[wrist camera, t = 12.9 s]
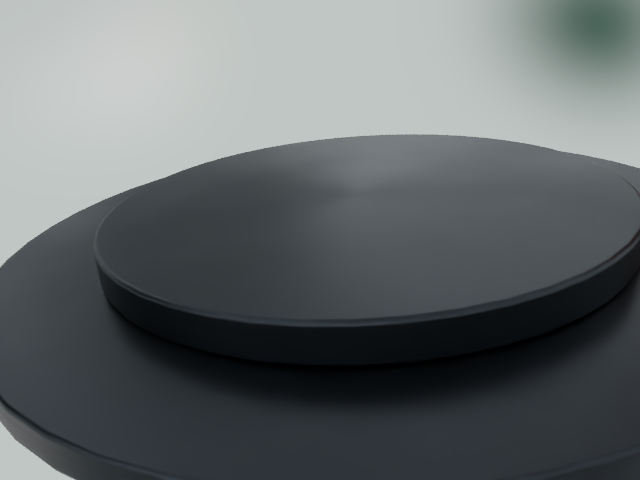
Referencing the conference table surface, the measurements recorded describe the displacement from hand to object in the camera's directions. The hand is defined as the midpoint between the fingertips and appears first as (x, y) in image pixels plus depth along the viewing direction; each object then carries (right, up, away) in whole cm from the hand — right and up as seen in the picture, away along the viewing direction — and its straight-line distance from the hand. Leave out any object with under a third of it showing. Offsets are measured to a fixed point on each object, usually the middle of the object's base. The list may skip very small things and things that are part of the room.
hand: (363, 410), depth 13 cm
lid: (0, +4, -3) cm, 5 cm away
